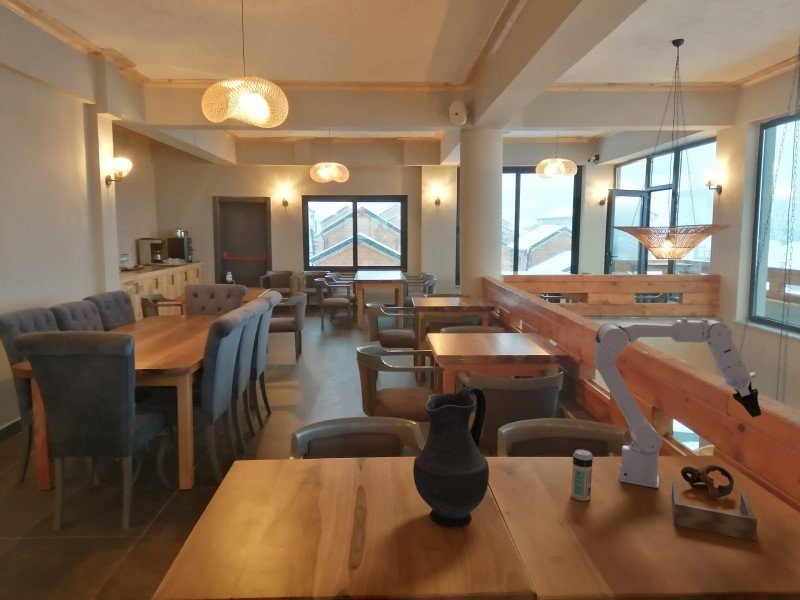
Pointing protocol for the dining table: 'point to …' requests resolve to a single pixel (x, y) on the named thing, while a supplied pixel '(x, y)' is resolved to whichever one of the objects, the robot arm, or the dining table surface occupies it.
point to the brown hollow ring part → (708, 479)
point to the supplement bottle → (581, 475)
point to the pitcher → (453, 458)
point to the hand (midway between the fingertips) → (753, 409)
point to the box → (715, 518)
